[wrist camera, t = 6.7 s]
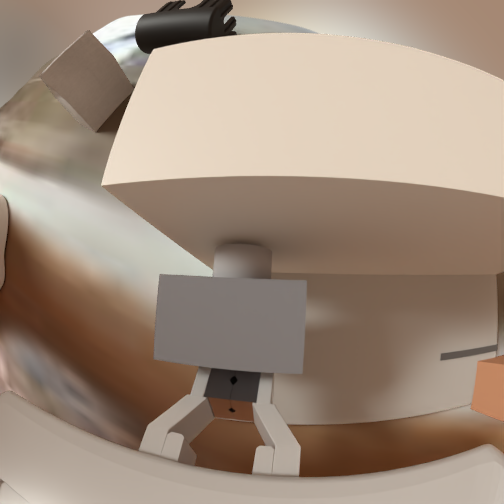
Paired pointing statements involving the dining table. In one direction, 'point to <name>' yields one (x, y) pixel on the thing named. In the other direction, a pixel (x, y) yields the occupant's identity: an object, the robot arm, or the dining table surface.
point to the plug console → (335, 203)
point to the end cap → (184, 24)
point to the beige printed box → (87, 81)
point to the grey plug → (233, 315)
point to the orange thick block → (489, 388)
